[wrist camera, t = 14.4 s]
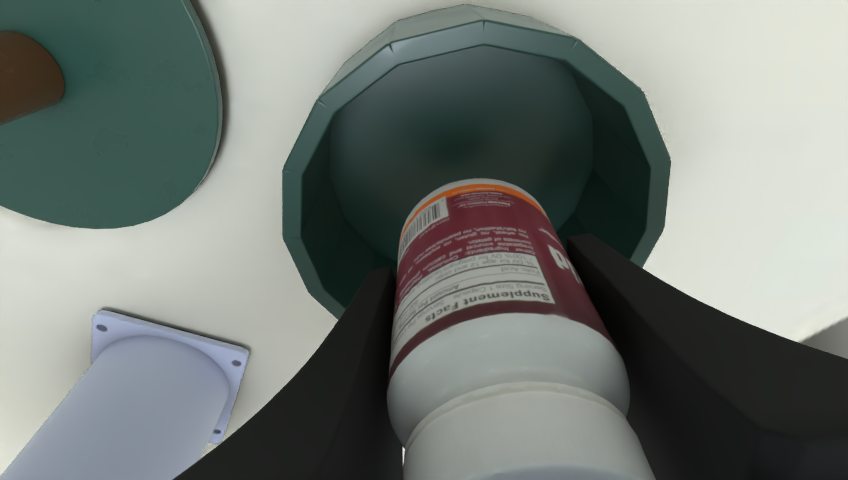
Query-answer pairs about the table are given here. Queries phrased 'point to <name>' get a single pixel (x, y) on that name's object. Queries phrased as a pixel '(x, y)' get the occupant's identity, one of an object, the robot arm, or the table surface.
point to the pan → (468, 142)
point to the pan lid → (104, 109)
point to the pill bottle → (502, 349)
